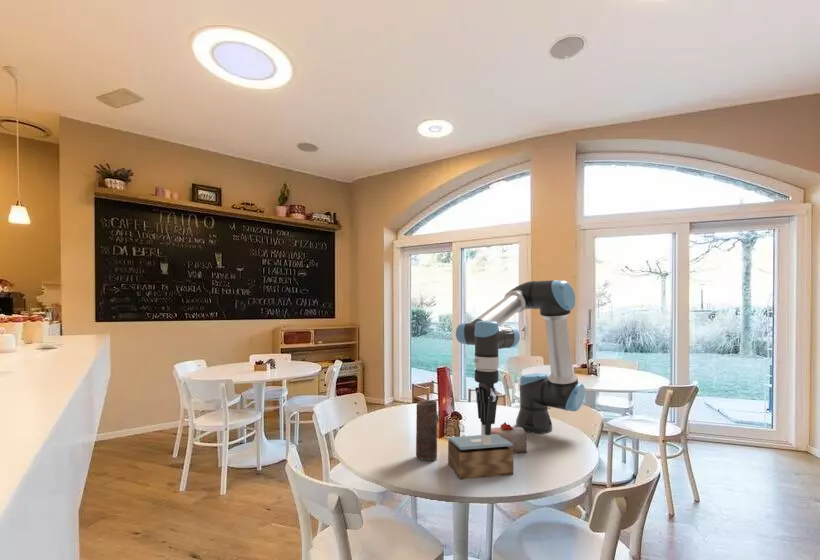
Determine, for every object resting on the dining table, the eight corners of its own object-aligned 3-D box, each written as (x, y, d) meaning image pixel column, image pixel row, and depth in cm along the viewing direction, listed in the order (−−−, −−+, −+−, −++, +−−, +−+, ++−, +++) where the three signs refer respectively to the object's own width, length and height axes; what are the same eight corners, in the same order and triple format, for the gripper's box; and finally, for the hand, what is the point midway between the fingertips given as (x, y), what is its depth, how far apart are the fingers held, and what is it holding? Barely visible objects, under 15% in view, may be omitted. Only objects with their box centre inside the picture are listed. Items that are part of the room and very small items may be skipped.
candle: (430, 465, 139) (430, 405, 140) (411, 460, 143) (412, 401, 144) (440, 457, 145) (441, 400, 146) (422, 453, 149) (423, 397, 150)
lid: (496, 436, 144) (496, 433, 144) (512, 445, 132) (512, 443, 132) (448, 439, 140) (448, 437, 140) (460, 449, 128) (460, 447, 128)
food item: (491, 455, 148) (491, 427, 149) (485, 447, 156) (485, 420, 156) (528, 454, 149) (528, 427, 149) (521, 446, 157) (521, 420, 157)
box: (497, 460, 143) (497, 436, 144) (513, 474, 132) (513, 449, 132) (448, 464, 139) (448, 440, 140) (460, 479, 128) (460, 453, 128)
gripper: (468, 366, 137) (467, 438, 136) (483, 373, 124) (483, 452, 124) (489, 365, 139) (488, 436, 138) (506, 372, 126) (506, 450, 125)
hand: (486, 444), depth 131 cm, fingers closed
